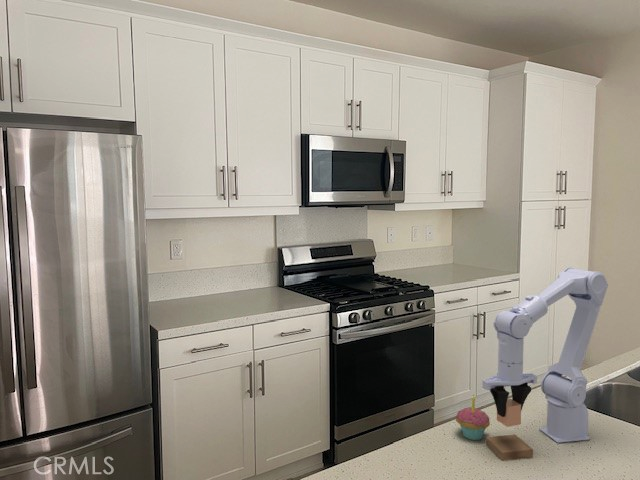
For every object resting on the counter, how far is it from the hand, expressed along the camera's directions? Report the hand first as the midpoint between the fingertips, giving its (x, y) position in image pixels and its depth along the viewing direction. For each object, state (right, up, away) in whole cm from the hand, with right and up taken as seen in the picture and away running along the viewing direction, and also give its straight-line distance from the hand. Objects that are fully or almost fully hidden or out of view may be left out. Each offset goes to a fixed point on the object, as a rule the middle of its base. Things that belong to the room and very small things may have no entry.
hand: (509, 414), depth 127 cm
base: (0, -9, 0) cm, 9 cm away
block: (0, -2, 0) cm, 2 cm away
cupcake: (-7, -9, +8) cm, 14 cm away
